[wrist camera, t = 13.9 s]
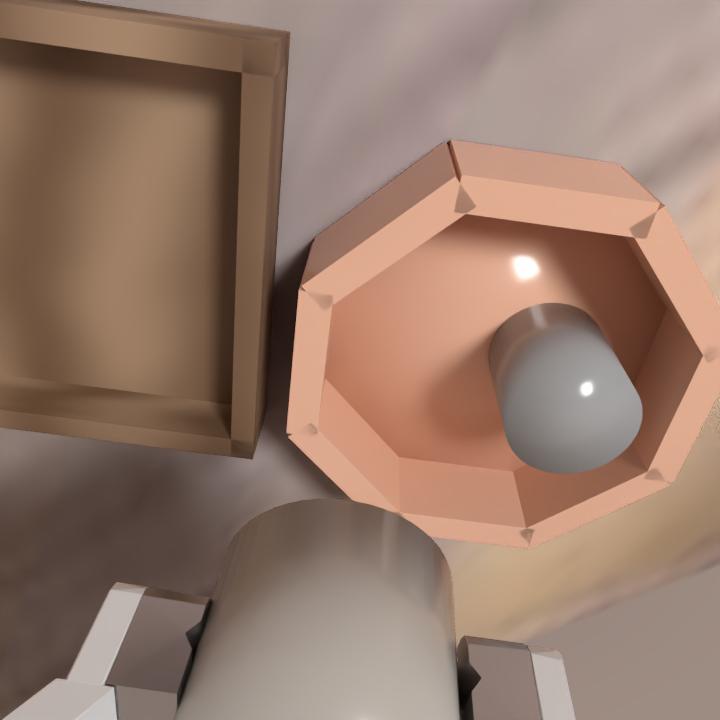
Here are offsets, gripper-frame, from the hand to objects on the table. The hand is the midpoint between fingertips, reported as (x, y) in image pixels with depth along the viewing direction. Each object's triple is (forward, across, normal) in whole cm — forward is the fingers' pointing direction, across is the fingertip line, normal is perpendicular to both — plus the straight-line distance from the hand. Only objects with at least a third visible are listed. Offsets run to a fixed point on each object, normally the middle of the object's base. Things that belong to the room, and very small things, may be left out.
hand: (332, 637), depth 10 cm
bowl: (+14, -4, +2) cm, 15 cm away
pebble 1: (+1, 0, 0) cm, 1 cm away
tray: (+14, +11, 0) cm, 17 cm away
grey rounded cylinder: (+13, -6, +2) cm, 15 cm away
